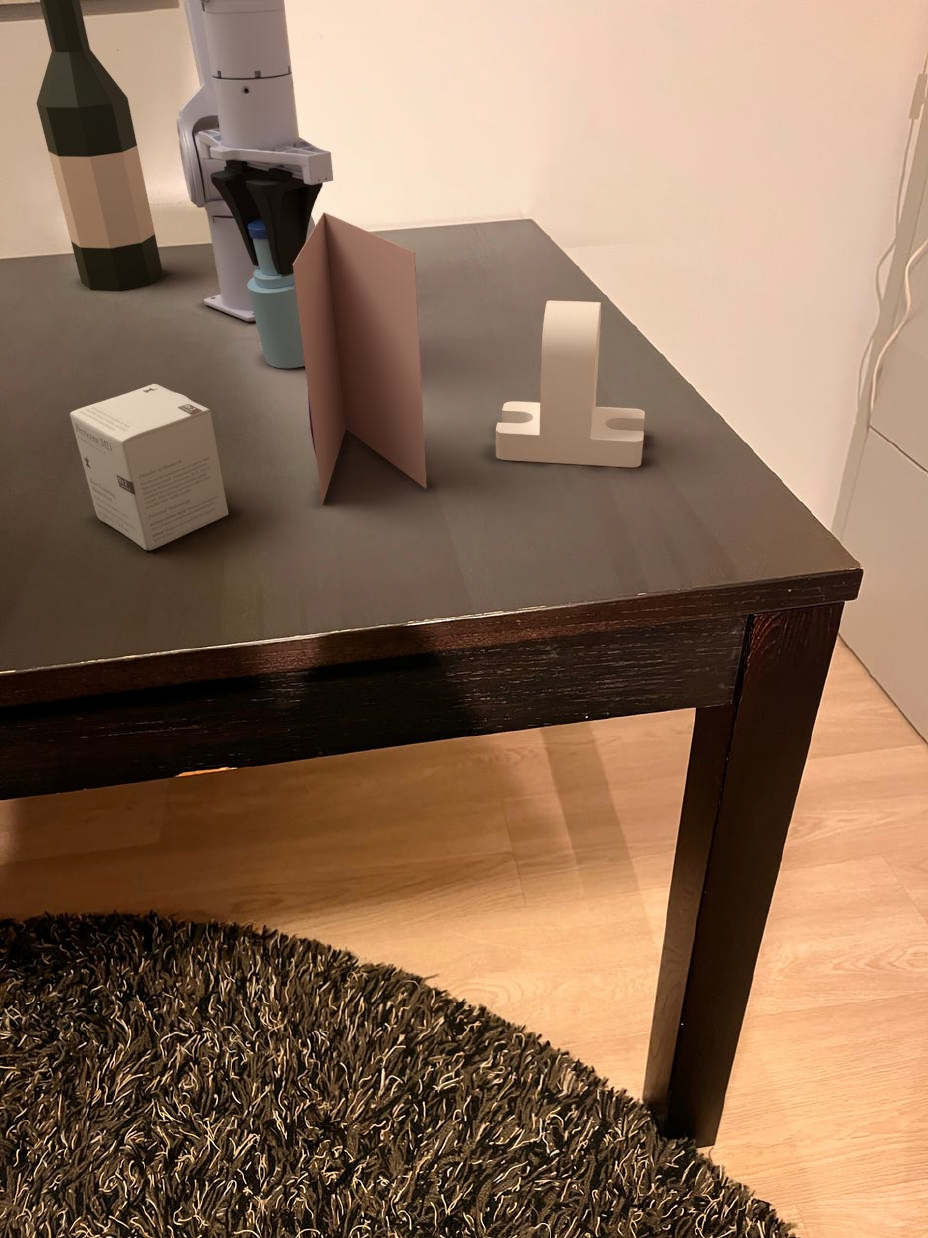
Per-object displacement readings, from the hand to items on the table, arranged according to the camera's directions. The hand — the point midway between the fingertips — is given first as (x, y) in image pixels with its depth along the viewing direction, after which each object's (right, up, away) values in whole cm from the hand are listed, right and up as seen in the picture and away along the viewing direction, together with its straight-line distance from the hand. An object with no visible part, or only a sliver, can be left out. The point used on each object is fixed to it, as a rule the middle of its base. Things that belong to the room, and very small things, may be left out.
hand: (277, 267), depth 78 cm
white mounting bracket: (+22, -16, -10) cm, 29 cm away
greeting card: (+9, -18, -11) cm, 23 cm away
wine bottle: (-21, +7, +24) cm, 33 cm away
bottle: (+1, -6, +5) cm, 7 cm away
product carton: (-4, -22, -17) cm, 28 cm away
